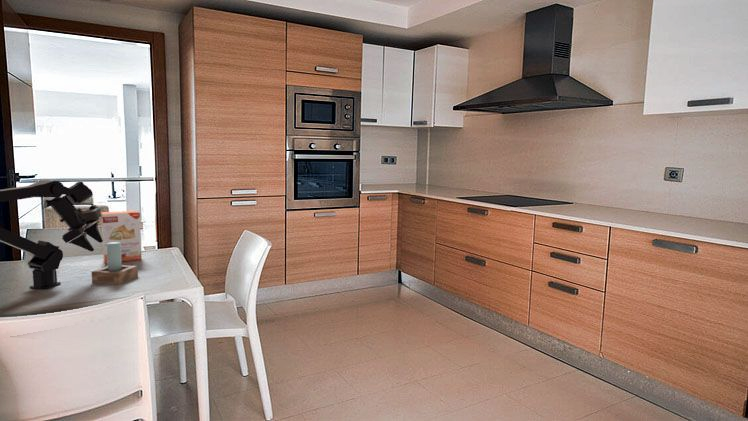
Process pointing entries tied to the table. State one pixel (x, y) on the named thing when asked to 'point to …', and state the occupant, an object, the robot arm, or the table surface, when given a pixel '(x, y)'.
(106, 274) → the socket base
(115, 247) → the column
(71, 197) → the robot arm
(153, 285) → the table surface
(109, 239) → the cracker box
